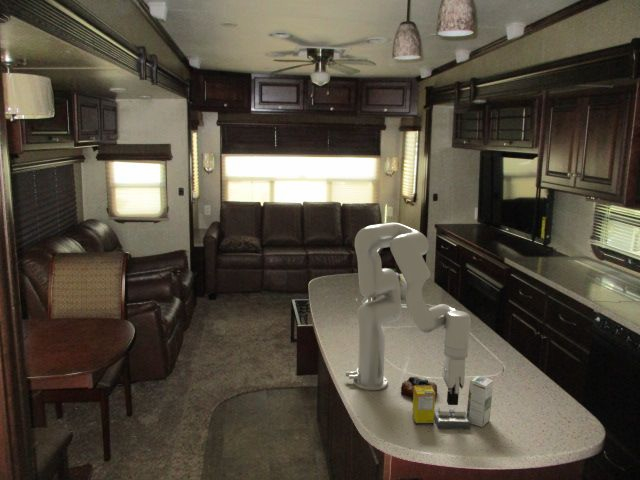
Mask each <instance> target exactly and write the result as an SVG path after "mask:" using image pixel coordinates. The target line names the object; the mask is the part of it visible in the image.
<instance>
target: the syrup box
mask: <svg viewBox="0 0 640 480" xmlns="http://www.w3.org/2000/svg"><path fill="white" fill-rule="evenodd" d="M493 387H494V380H492V379H490V378H488V377H485V376H481V375H477V376H475V377H473V379H472V380H470V381H469V386H468V395H467V396H468V397H467V398H468V399H467V406H466V407H467V409H466V415H467V417H468V419H469V421H470V425H471V424H472V425H475V426H477V427H480V428H483V427H485V425H487V423H489V421H490V418H491V410H492V398H493V392H494V391H493V389H494V388H493Z"/></svg>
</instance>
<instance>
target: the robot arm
mask: <svg viewBox="0 0 640 480" xmlns="http://www.w3.org/2000/svg"><path fill="white" fill-rule="evenodd" d="M384 248H385V249H386V248H390V252H391V254H392V256H393V257H394V260H395V262H396V265H397V266H398V268H399V271H400V272H401V274H402V277H403V278H404V281H405V282H406V287H405V288H406V289H405V303H406V308H407V311H408V313H409V315H410V317H411V320H412V321H413V323H414V324H415V326H416V327H417V329H418V330H419V331H421V332H422V333H427V334H428V333H432V332H435V331H439V330H442V329H444V343H443V355H444V357H443V358H444V359H443V368H442V379H443V381H444V383H445V385H446V387H447V393H446V403H447V405H448V406H458V404H459V394H460V390H463V388H464V386H465V374H466V359H467V358H468V357H469V348H470V347H469V346H470V336H471V335H470V333H471V319H472V318H471V316H470V313H468V312H466V311H462V310H458V309H456V308H454V307H452V306H450V305H449V304H445V303H440V304H437V305H433V306H429V307H428V306H427V304H426V302H425V300H424V297H423V287H424V284H425V282H426V281H427V280H428V278H429V277H430V275H431V270H430V269H429V267H428V266H427V263H426V261H425V259H424V257H423V256H424V255H426V254H427V253H428V252H429V248H430V244H429V239H428V238H427V237H426V235H424V234H423V233H422V232H421V231H419V230H416V229H414V228H412V227H410V226H406V225H404V224H402V223H398V222H385V223H379V224H378V223H377V224H370V225H368V226H365V227H363V228H361V229H359V231H358V232H357V234H356V235H355V238H354V249H355V250H354V251H355V255H356V258H357V259H356V261H357V270H358V285H359V286H358V287H359V292H360V294H361V295H362V296H363V298H367V299H372V300H369V301H367V302H364V303H363V304H361V305H360V306H359V307H358V309H357V312H356V317H357V323H358V358H357V359H358V363H357V368H356V370H354V371H351V370H350V371H347V370H345V377H346V378H347V377H348V379H349V380H353V384H354V385H355V386H356V387H357V388H359V389H361V390H364V391H379V390H383V389H385V388H386V387H387V386H388V379H387V378H386V377H385V376H384V374H385V372H384V371H385V354H386V353H385V350H386V337H385V333H384V331H383V330H382V326H385V325H388V324H391V323H394V322H396V321H397V320H398V319H399V318H400V317H401V312H402V301H401V300H402V299H401V298H402V297H401V282H400V283H399V278H398V276H397V274H396V273H395V272H394V271H393V270H392V269H393V268H390V267H389V268H387V267H384V268H382V258H381V255H380V253H379V252H378V251H377V250H379V249H384ZM378 297H379V298H378ZM373 298H378V299H373Z"/></svg>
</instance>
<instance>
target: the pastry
mask: <svg viewBox="0 0 640 480" xmlns="http://www.w3.org/2000/svg"><path fill="white" fill-rule="evenodd" d="M414 386H432V388H433V390H434V392H435V397H436V396H437V394H438V385H437V383H435V382H431V381H429V380H428V379H422V378H419V377H418V376H410V377H408V379H407V380H404V382H402V383H401V387H400V389H401V390H400V391H401V392H400V394H401V395H403V396H404V397H407V398H409V399H412V400H413V392H414Z"/></svg>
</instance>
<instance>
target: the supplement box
mask: <svg viewBox="0 0 640 480" xmlns="http://www.w3.org/2000/svg"><path fill="white" fill-rule="evenodd" d="M435 405H436V396H435V392H434V390H433V388H432V386H414V392H413V399H412V411H411V412H412V418H413V421H414V424H415V425H416V426H418V425H419V426H420V425H421V426H424V425H425V426H426V425H430V426H431V425H432V426H433V425H434V423H435V419H434V409H436V408H435Z"/></svg>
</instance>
